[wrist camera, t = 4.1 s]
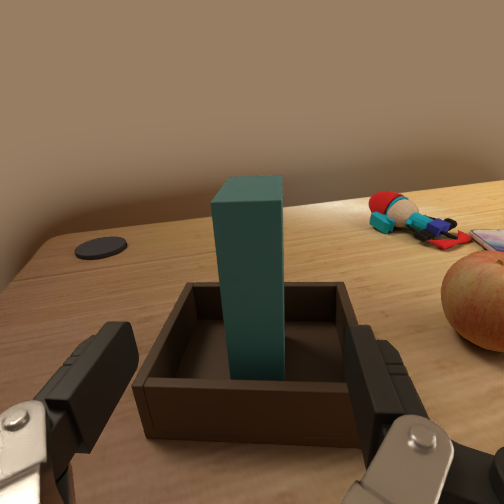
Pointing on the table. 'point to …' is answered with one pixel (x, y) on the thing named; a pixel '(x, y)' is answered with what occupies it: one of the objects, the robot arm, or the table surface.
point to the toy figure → (411, 220)
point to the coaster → (100, 247)
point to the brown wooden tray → (250, 391)
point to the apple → (476, 298)
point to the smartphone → (489, 238)
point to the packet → (251, 275)
